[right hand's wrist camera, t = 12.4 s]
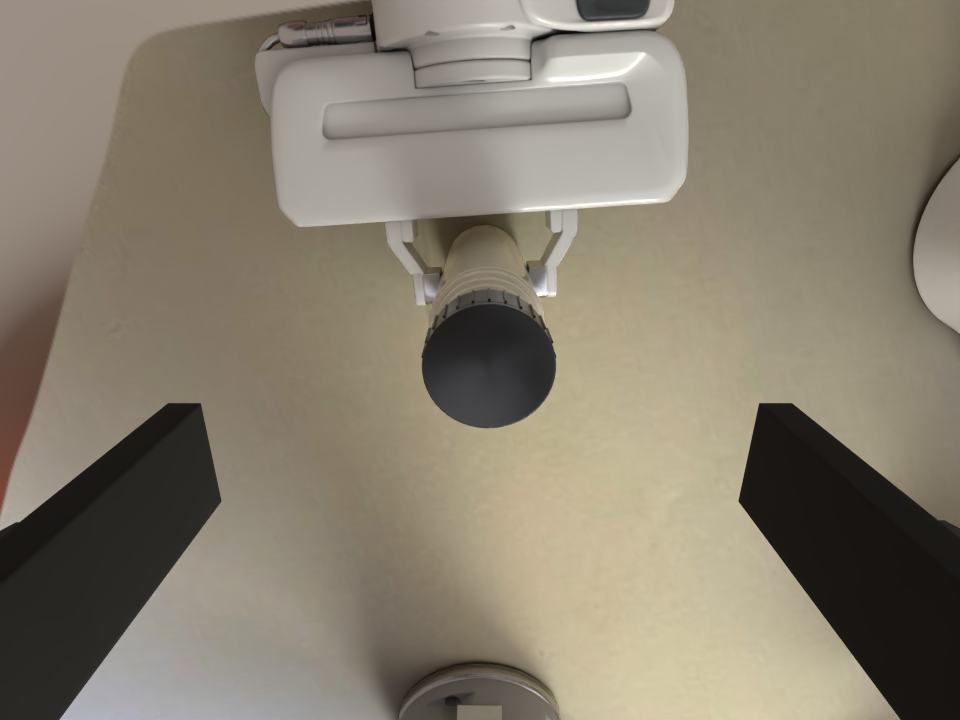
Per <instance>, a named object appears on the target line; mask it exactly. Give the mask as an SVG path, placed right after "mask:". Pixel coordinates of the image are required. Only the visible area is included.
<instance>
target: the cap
mask: <svg viewBox="0 0 960 720" xmlns="http://www.w3.org/2000/svg"><path fill="white" fill-rule="evenodd" d="M552 343H553V340H552V338H551V335H550V333H549V330H548V328H546V326H545V323H544V321H543V318H542V316H541V315H539V314H538V313H537V312H536V311H535V309H534V308H533V306H532V304H528V303H527V302H526V301H524V300H523V299H521V298H520V296H519V295H517V296H516V295H513V294H511V293H508V292H506V291H505V290H503V291H500V290H492V289H490V288H487V290H477V291H474V290H472V292H469V293H466V294H464V295H461V296H460V295H458V296H457V298H456V299H454V300H452V301H451V302H450V303H449V304H445V306H444V308H443V309H442V310H441V311H440V313H439V314H438V315H435V318H434V322H433V324H432V326H431V328H429V329H428V333H427V336H426V340H425V346H424V349H423V353H422V358H423V359H422V374H423V379H424V383H425V386H426V389H427V391H428V393H429V395H430V397H431V398H432V400H433V401H434V402H435V404H436V405H437V406H438V407H439V408H440V409H441V410H442V411H443V412H444V413H446V414H447V415H448V416H450V417H451V418H453V419H455V420H457V421H459V422H461V423H463V424H466V425H469V426H474V427H479V428H498V427H504V426H508V425H511V424H514V423H516V422H519V421H521V420H523V419H524V418H526V417H528V416H529V415H530V414H532V413H533V412H534V411H535V410H536V409H538V408H539V406H540V405H541V404H542V403H543V402H544V400H545V399H546V397H547V396H548V394H549V392H550V390H551V388H552V385H553V382H554V379H555V373H556V354H555V352H554V349H553V346H552Z"/></svg>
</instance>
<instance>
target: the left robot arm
mask: <svg viewBox="0 0 960 720" xmlns="http://www.w3.org/2000/svg"><path fill="white" fill-rule="evenodd" d="M371 3H372V8H373V12H372V14H371V15H359V16H351V17H340V18H334V19H330V20H328V21H327V20H325V21H319V22H308V23H307V21H290V22H286V23H283V24H280V25H279V26H278V32H277V33H274V34H273V35H271V36H269V37H268V38H267V39H265V40H264V42H263V43H262V44H261V46H260V47H259V49H258V52H257V54H256V56H255V73H256V78H257V84H258V89H259V94H260V99H261V102H262V105H263V108H264V110H265V112H266V114H267V115H268V116H269V118H270V132H271V152H272V164H273V174H274V182H275V189H276V196H277V202H278V205H279V208H280V210H281V211H282V212H283V213H284V214H285V215H286V216H287V217H288V218H289V219H290V220H291V221H292V222H293V223H294V224H295V225H296V226H298V227H313V226H328V225H342V224H357V223H372V222H385V228H386V235H387V243H388V245H389V247H390V248H391V249H392V251H393V252H394V253H395V255H396V256H397V257H398V259H399V260H400V262H401V263H402V264H403V266H404V267H405V268H406V270H407V271H408V272H409V274H410V275H413V283H414V292H415V300H416V304H417V305H429V304H433V301H434V298H435V294H436V291H437V288H438V285H439V282H440V279H441V275H442V267H427V265H426V264H425V262H424V261H423V259H422V258H421V256H420V255H419V253H418V252H417V250H416V249H415V248H414V246H413V245H412V243H411V242H412V241H413V240H414V239H415V238H416V236H417V235H418V228H417V219H431V218H446V217H460V216H475V215H490V214H505V213H519V212H534V211H546V226H547V227H548V228H549V229H550V230H551V231H552V232H553V233H554V234H553V236H552V238H551V240H550V242H549V244H548V246H547V248H546V250H545V252H544V253H543V255H542V257H541V260H536V261H526V268H527V270H528V272H529V275H530V277H531V280H532V282H533V284H534V287H535V289H536V292H537V294H538V296H539V298H540V297H556V292H557V277H556V265H559V264H560V262H561V260H562V258H563V256H564V255H565V253H566V251H567V249H568V248H569V246H570V244H571V242H572V241H573V239H574V237H575V235H576V233H577V227H578V208H593V207H608V206H623V205H637V204H652V203H665V202H668V201H669V200H671V199H672V197H673V196H674V195H675V194H676V192H677V191H678V190H679V188H680V187H681V186H682V184H683V183H684V181H685V179H686V174H687V165H688V145H689V119H688V97H687V83H686V74H685V69H684V64H683V61H682V58H681V55H680V53H679V51H678V49H677V48H676V46H675V45H674V44H673V42H672V41H671V40H670V39H668V38H667V37H666V36H664V35H663V34H660V33H658V32H655V31H656V30H657V29H659V28H660V27H661V26H662V25H663V24H664V23H665V22H666V20H667V19H668V18H669V16H670V15H671V13H672V11H673V7H674V3H675V0H371ZM375 40H376V44H377V45H376V44H375ZM278 43H281V45H282V46H283V47H284V48H288V49H276V50H270V49H271V48H272V47H273V46H274V45H276V44H278ZM320 45H328V46H320ZM312 46H315V47H312ZM377 51H378V52H377ZM913 269H914V277H915V281H916V285H917V288H918V291H919V293H920V296H921V298H922V300H923V301H924V303H925V304H926V306H927V307H928V309H929V310H930V311H931V312H932V313H933V314H934V315H935V316H936V317H937V318H938V319H939V320H941V321H942V322H943V323H945V324H946V325H948V326H949V327H951V328H952V329H954V330H955V331H957V332H958V333H959V334H960V158H959V159H958V161H957V162H956V163H955V164H954V165H953V166H952V167H951V169H950V170H949V171H948V172H947V174H946V175H945V176H944V178H943V179H942V180H941V182H940V183H939V185H938V186H937V188H936V189H935V191H934V193H933V194H932V196H931V198H930V200H929V202H928V204H927V206H926V208H925V210H924V213H923V215H922V218H921V220H920V223H919V226H918V230H917V234H916V238H915V243H914V251H913Z"/></svg>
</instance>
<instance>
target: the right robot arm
mask: <svg viewBox="0 0 960 720" xmlns="http://www.w3.org/2000/svg"><path fill="white" fill-rule="evenodd" d="M220 503H221V497H220V492H219V487H218V483H217V478H216V473H215V468H214V464H213V459H212V454H211V450H210V445H209V440H208V435H207V431H206V426H205V421H204V417H203V412H202V407H201V403H168V404H167V405H165V406H164V407H163V408H162V409H160V410H159V411H158V412H157V413H155V414H154V415H153V416H152V417H150V418H149V419H148V420H147V421H145V422H144V423H143V424H142V425H140V426H139V427H138V428H137V429H135V430H134V431H133V432H132V433H130V434H129V435H128V436H127V437H125V438H124V439H123V440H122V441H120V442H119V443H118V444H117V445H115V446H114V447H113V448H112V449H110V450H109V451H108V452H107V453H105V454H104V455H103V456H102V457H101V458H99V459H98V460H97V461H96V462H94V463H93V464H92V465H91V466H89V467H88V468H87V469H86V470H84V471H83V472H82V473H81V474H79V475H78V476H77V477H76V478H74V479H73V480H72V481H71V482H69V483H68V484H67V485H66V486H64V487H63V488H62V489H61V490H59V491H58V492H57V493H56V494H54V495H53V496H52V497H51V498H49V499H48V500H47V501H46V502H44V503H43V504H42V505H41V506H39V507H38V508H37V509H36V510H34V511H33V512H32V513H31V514H29V515H28V516H27V517H26V518H24V519H23V520H22V521H21V522H16V523H14V524H12V525H10V526H8V527H7V528H5V529H3V530H1V531H0V720H59V719H60V718H61V717H62V715H63V714H64V713H65V711H66V710H67V709H68V707H69V706H70V705H71V703H72V702H73V700H74V699H75V698H76V696H77V695H78V694H79V692H80V691H81V690H82V688H83V687H84V686H85V684H86V683H87V682H88V680H89V679H90V678H91V676H92V675H93V674H94V672H95V671H96V670H97V668H98V667H99V665H100V664H101V663H102V661H103V660H104V659H105V657H106V656H107V655H108V653H109V652H110V651H111V649H112V648H113V647H114V645H115V644H116V643H117V641H118V640H119V639H120V637H121V636H122V635H123V633H124V632H125V630H126V629H127V628H128V626H129V625H130V624H131V622H132V621H133V620H134V618H135V617H136V616H137V614H138V613H139V612H140V610H141V609H142V608H143V606H144V605H145V604H146V602H147V601H148V600H149V598H150V597H151V595H152V594H153V593H154V591H155V590H156V589H157V587H158V586H159V585H160V583H161V582H162V581H163V579H164V578H165V577H166V575H167V574H168V573H169V571H170V570H171V569H172V567H173V566H174V565H175V563H176V562H177V560H178V559H179V558H180V556H181V555H182V554H183V552H184V551H185V550H186V548H187V547H188V546H189V544H190V543H191V542H192V540H193V539H194V538H195V536H196V535H197V534H198V532H199V531H200V530H201V528H202V527H203V525H204V524H205V523H206V521H207V520H208V519H209V517H210V516H211V515H212V513H213V512H214V511H215V509H216V508H217V507H218V505H219V504H220ZM739 503H740V504H741V505H742V507H743V508H744V509H745V511H746V512H747V513H748V515H749V516H750V517H751V519H752V520H753V521H754V523H755V524H756V525H757V527H758V528H759V530H760V531H761V532H762V534H763V535H764V536H765V538H766V539H767V540H768V542H769V543H770V544H771V546H772V547H773V548H774V550H775V551H776V552H777V554H778V555H779V556H780V558H781V559H782V560H783V562H784V563H785V565H786V566H787V567H788V569H789V570H790V571H791V573H792V574H793V575H794V577H795V578H796V579H797V581H798V582H799V583H800V585H801V586H802V587H803V589H804V590H805V591H806V593H807V594H808V595H809V597H810V598H811V600H812V601H813V602H814V604H815V605H816V606H817V608H818V609H819V610H820V612H821V613H822V614H823V616H824V617H825V618H826V620H827V621H828V622H829V624H830V625H831V626H832V628H833V629H834V630H835V632H836V633H837V635H838V636H839V637H840V639H841V640H842V641H843V643H844V644H845V645H846V647H847V648H848V649H849V651H850V652H851V653H852V655H853V656H854V657H855V659H856V660H857V661H858V663H859V664H860V665H861V667H862V668H863V670H864V671H865V672H866V674H867V675H868V676H869V678H870V679H871V680H872V682H873V683H874V684H875V686H876V687H877V688H878V690H879V691H880V692H881V694H882V695H883V696H884V698H885V699H886V700H887V702H888V703H889V705H890V706H891V707H892V709H893V710H894V711H895V713H896V714H897V715H898V717H899V718H900V719H901V720H960V528H958V527H956V526H954V525H952V524H950V523H948V522H946V521H938V520H937V519H936V518H934V517H933V516H932V515H931V514H929V513H928V512H927V511H926V510H924V509H923V508H922V507H921V506H919V505H918V504H917V503H916V502H914V501H913V500H912V499H911V498H909V497H908V496H907V495H906V494H904V493H903V492H902V491H901V490H899V489H898V488H897V487H896V486H894V485H893V484H892V483H891V482H889V481H888V480H887V479H886V478H884V477H883V476H882V475H881V474H879V473H878V472H877V471H876V470H874V469H873V468H872V467H871V466H869V465H868V464H867V463H866V462H864V461H863V460H862V459H861V458H859V457H858V456H857V455H856V454H855V453H853V452H852V451H851V450H850V449H848V448H847V447H846V446H845V445H843V444H842V443H841V442H840V441H838V440H837V439H836V438H835V437H833V436H832V435H831V434H830V433H828V432H827V431H826V430H825V429H823V428H822V427H821V426H820V425H818V424H817V423H816V422H815V421H813V420H812V419H811V418H810V417H808V416H807V415H806V414H805V413H803V412H802V411H801V410H800V409H798V408H797V407H796V406H795V405H793V404H792V403H759V407H758V412H757V417H756V421H755V426H754V431H753V435H752V440H751V445H750V450H749V454H748V459H747V464H746V468H745V473H744V478H743V483H742V487H741V492H740V497H739ZM398 720H561V719H560V712H559V708H558V705H557V703H556V701H555V699H554V697H553V696H552V694H551V693H550V691H549V690H548V689H547V688H546V687H545V686H544V685H543V684H541V683H540V682H539V681H537V680H536V679H535V678H533V677H531V676H530V675H528V674H526V673H523V672H521V671H519V670H516V669H513V668H509V667H506V666H501V665H494V664H465V665H458V666H454V667H450V668H446V669H443V670H441V671H438V672H436V673H434V674H432V675H430V676H428V677H426V678H425V679H423V680H422V681H420V682H419V683H418V684H416V685H415V686H414V687H413V688H412V689H411V690H410V692H409V693H408V694H407V696H406V697H405V699H404V701H403V703H402V705H401V708H400V713H399V719H398Z"/></svg>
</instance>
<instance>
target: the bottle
mask: <svg viewBox="0 0 960 720" xmlns="http://www.w3.org/2000/svg"><path fill="white" fill-rule="evenodd" d="M487 288H490V289H492V290H500V291H503V290H505V291H506V292H508V293H511V294H513V295H516V296H517V295H519V296H520V298H521V299H523V300H524V301H526V302H527V303H528V304H532V306H533V308H534V309H535V311H536V312H537V313H538V314H539V315H541V316H542V318H543V321H544V323H545V317H544V310H543V307H542V304H541V301H540V299H539V296H538V294H537V292H536V289H535V287H534V284H533V282H532V280H531V277H530V275H529V272H528V270H527V268H526V265H525V263H524V260H523V258H522V256H521V253H520V251H519V249H518V246H517V244H516V242H515V241H514V240H513V238H512V237H511V236H510V235H509V234H508V233H506V232H505V231H504V230H502V229H500V228H497V227H495V226H490V225H479V226H474V227H471V228H469V229H467V230H465V231H464V232H462V233H461V234H460V235H459V236H458V237H457V238H456V239H455V240H454V242H453V244H452V245H451V248H450V250H449V253H448V256H447V260H446V263H445V266H444V269H443V272H442V275H441V279H440V282H439V285H438V288H437V291H436V294H435V298H434V301H433V304H432V307H431V311H430V318H429V327H430V328H431V326H432V324H433V322H434V318H435V315H438V314H439V313H440V311H441V310H442V309H443V308H444V306H445V304H449V303H450V302H451V301H452V300H454V299H456V298H457V296H458V295H460V296H461V295H464V294H466V293H469V292H472V290H474V291H477V290H487Z"/></svg>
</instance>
